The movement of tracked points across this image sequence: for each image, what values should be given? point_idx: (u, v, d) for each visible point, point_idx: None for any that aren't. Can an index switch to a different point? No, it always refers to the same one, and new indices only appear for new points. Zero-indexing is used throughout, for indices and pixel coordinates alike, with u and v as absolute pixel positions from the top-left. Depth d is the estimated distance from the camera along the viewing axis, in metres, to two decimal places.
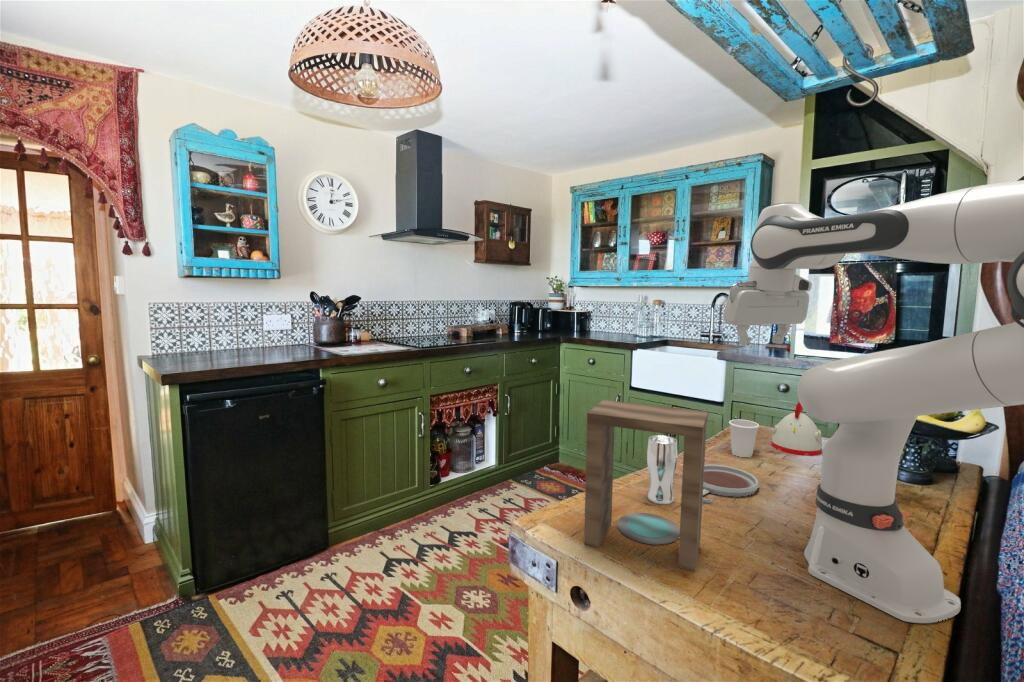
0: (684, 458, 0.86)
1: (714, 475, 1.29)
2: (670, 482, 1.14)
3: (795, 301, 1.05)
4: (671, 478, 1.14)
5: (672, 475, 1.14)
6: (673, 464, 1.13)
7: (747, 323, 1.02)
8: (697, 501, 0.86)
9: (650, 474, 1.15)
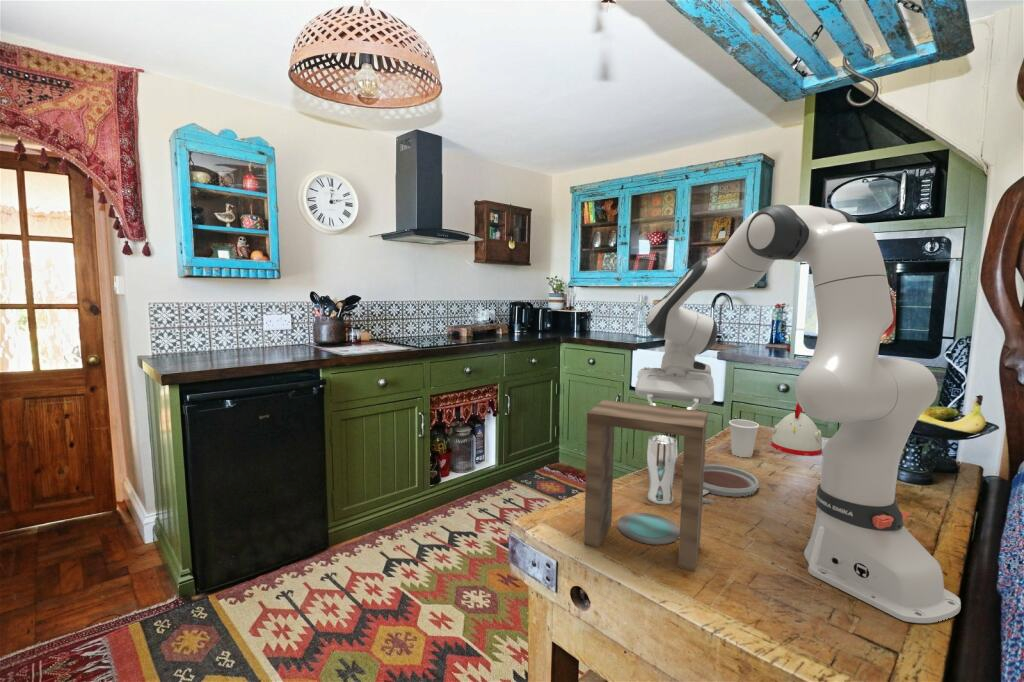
0: (684, 458, 0.86)
1: (714, 475, 1.29)
2: (670, 482, 1.14)
3: (700, 381, 1.27)
4: (671, 478, 1.14)
5: (672, 475, 1.14)
6: (673, 464, 1.13)
7: (647, 390, 1.30)
8: (697, 501, 0.86)
9: (650, 474, 1.15)
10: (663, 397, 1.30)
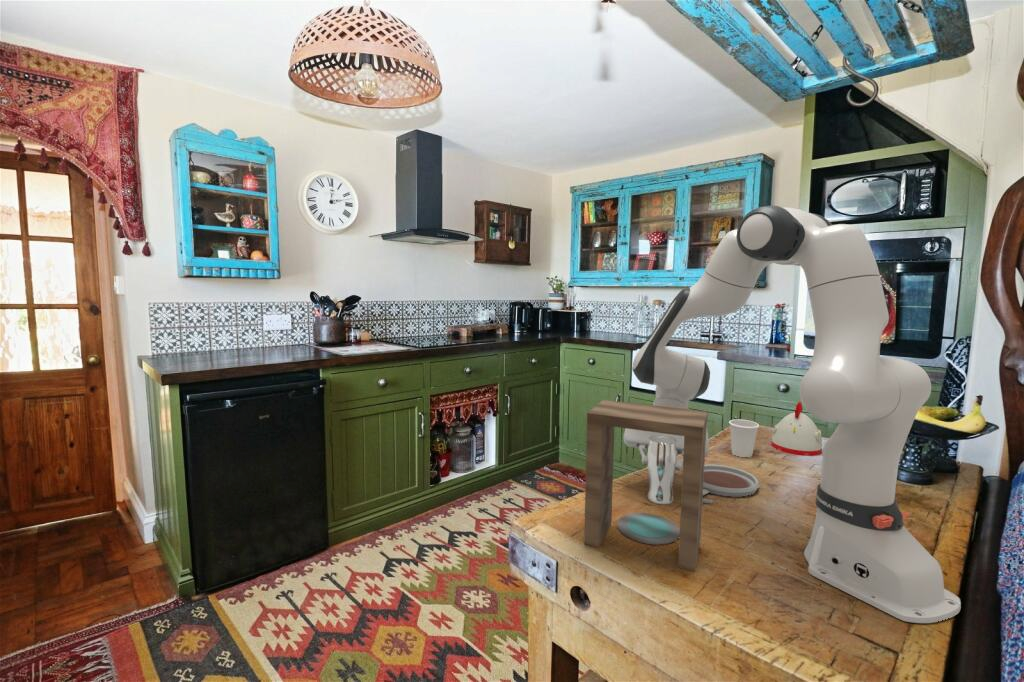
0: (684, 458, 0.86)
1: (714, 475, 1.29)
2: (670, 482, 1.14)
3: None
4: (671, 478, 1.14)
5: (672, 475, 1.14)
6: (673, 464, 1.13)
7: (636, 440, 1.20)
8: (697, 501, 0.86)
9: (650, 474, 1.15)
10: None
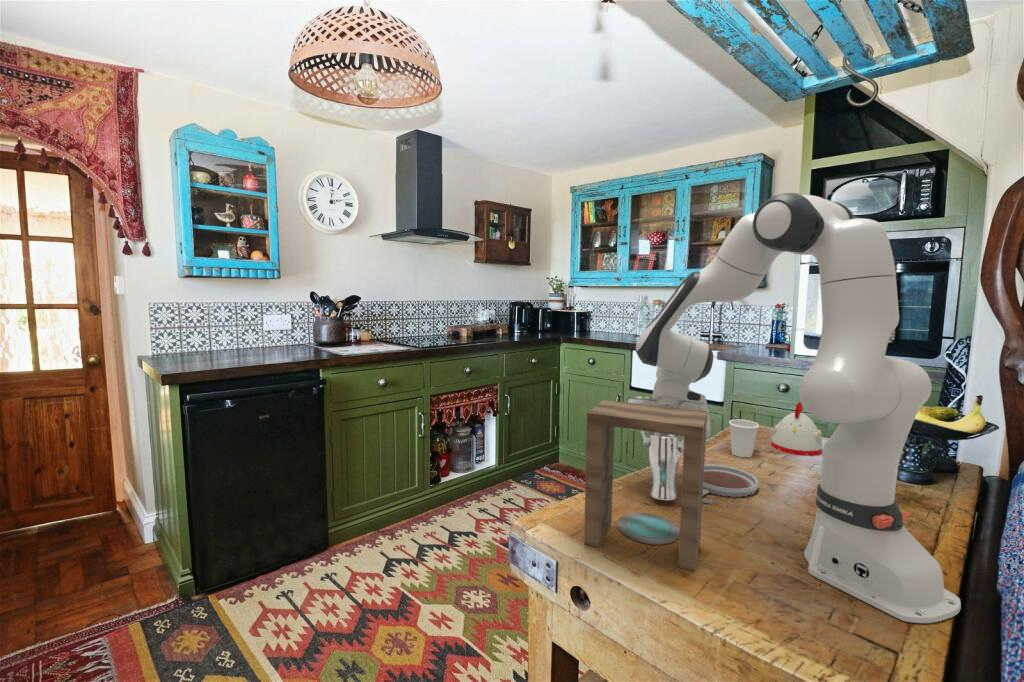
0: (684, 458, 0.86)
1: (714, 475, 1.29)
2: (673, 477, 1.13)
3: None
4: (674, 473, 1.13)
5: (675, 470, 1.13)
6: (675, 458, 1.12)
7: None
8: (697, 501, 0.86)
9: (653, 470, 1.15)
10: None
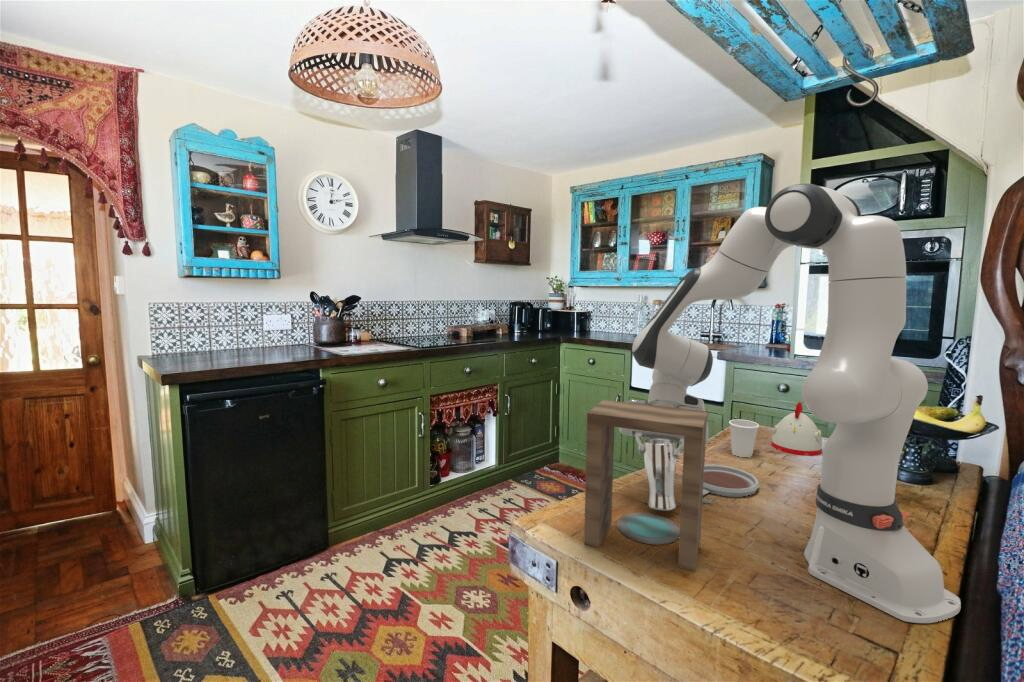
0: (684, 458, 0.86)
1: (714, 475, 1.29)
2: (671, 486, 1.08)
3: None
4: (671, 481, 1.08)
5: (672, 478, 1.08)
6: (672, 466, 1.07)
7: None
8: (697, 501, 0.86)
9: (649, 479, 1.09)
10: (650, 435, 1.14)
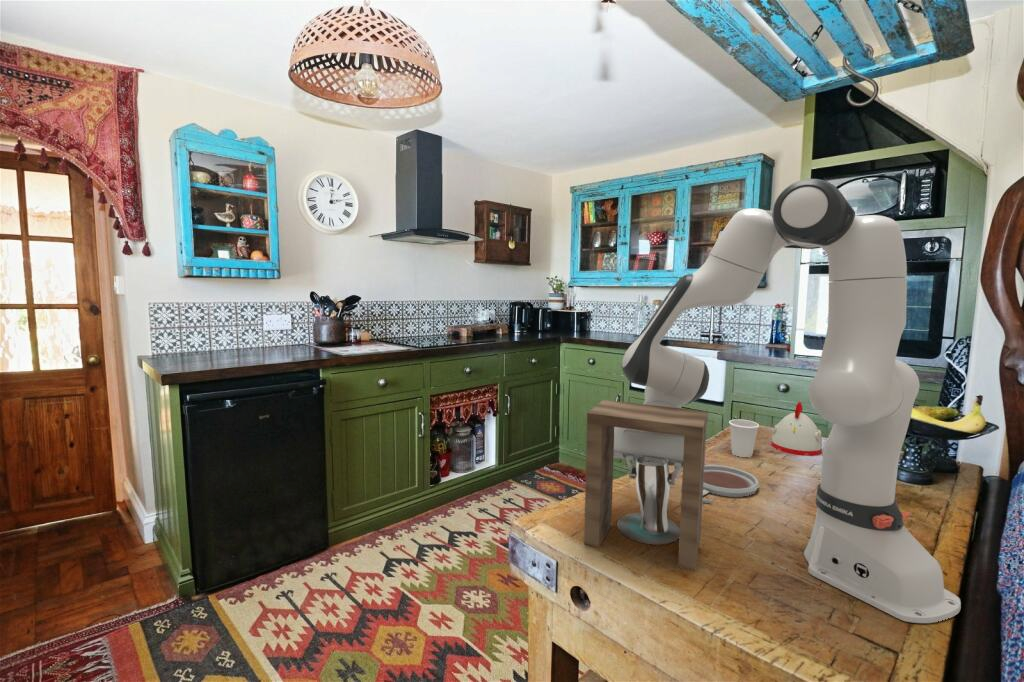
0: (684, 458, 0.86)
1: (714, 475, 1.29)
2: (664, 509, 0.99)
3: None
4: (665, 504, 0.98)
5: (665, 501, 0.98)
6: (666, 488, 0.98)
7: (622, 450, 1.04)
8: (697, 501, 0.86)
9: (640, 501, 1.00)
10: None
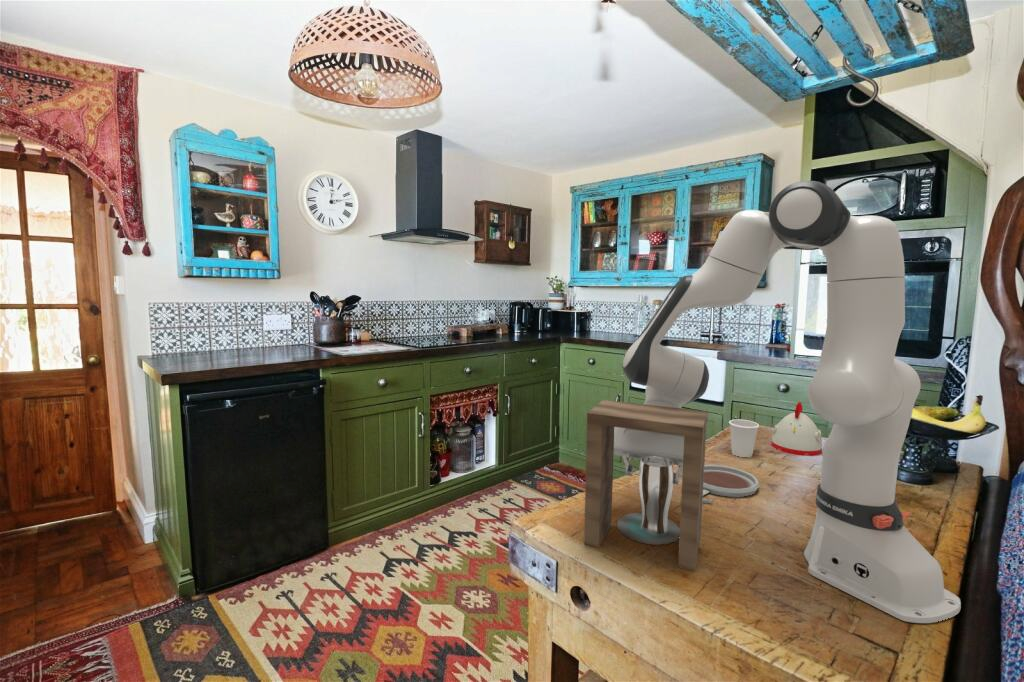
0: (684, 458, 0.86)
1: (714, 475, 1.29)
2: (665, 510, 0.99)
3: None
4: (667, 506, 0.98)
5: (668, 502, 0.98)
6: (669, 490, 0.98)
7: (623, 448, 1.06)
8: (697, 501, 0.86)
9: (642, 501, 1.00)
10: None
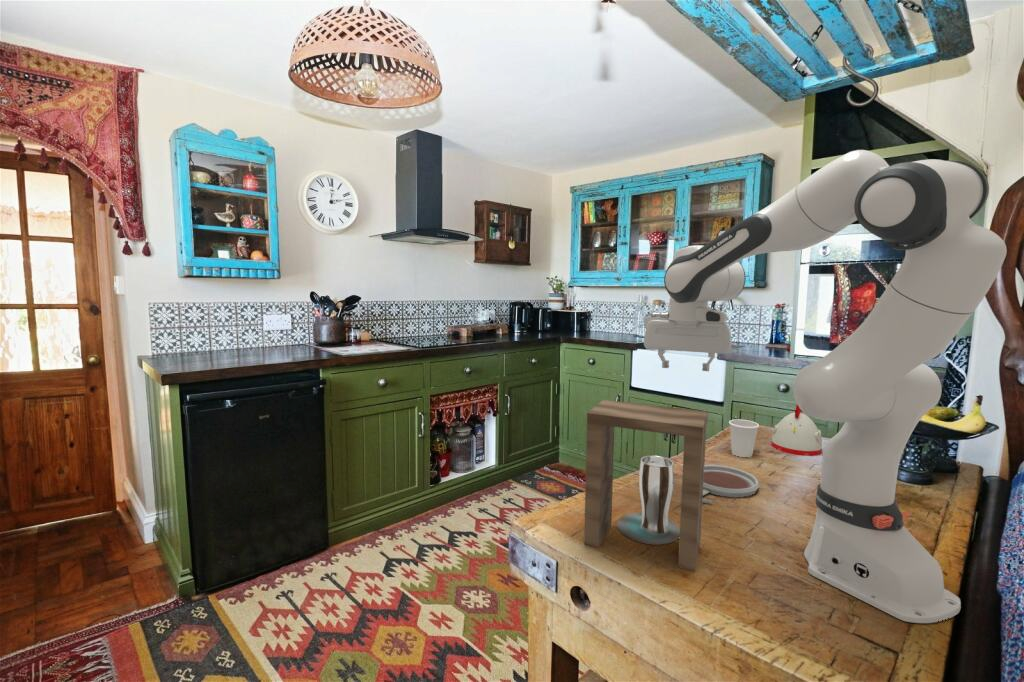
0: (684, 458, 0.86)
1: (714, 475, 1.29)
2: (665, 511, 0.99)
3: (715, 331, 1.13)
4: (667, 506, 0.98)
5: (668, 503, 0.98)
6: (669, 490, 0.98)
7: (657, 348, 1.19)
8: (697, 501, 0.86)
9: (642, 501, 1.00)
10: None
